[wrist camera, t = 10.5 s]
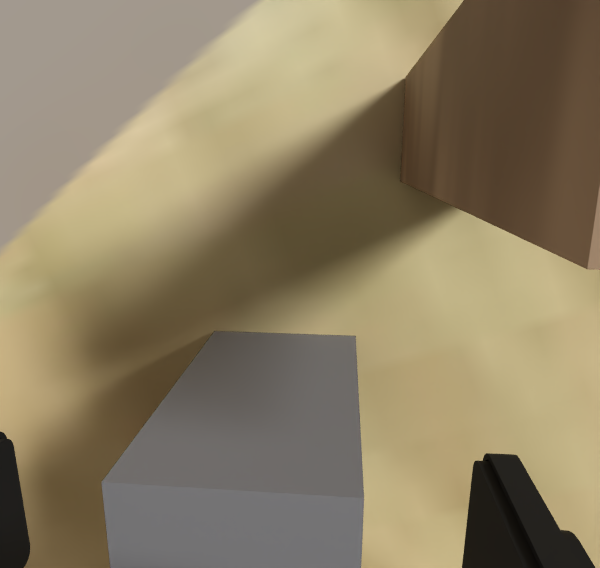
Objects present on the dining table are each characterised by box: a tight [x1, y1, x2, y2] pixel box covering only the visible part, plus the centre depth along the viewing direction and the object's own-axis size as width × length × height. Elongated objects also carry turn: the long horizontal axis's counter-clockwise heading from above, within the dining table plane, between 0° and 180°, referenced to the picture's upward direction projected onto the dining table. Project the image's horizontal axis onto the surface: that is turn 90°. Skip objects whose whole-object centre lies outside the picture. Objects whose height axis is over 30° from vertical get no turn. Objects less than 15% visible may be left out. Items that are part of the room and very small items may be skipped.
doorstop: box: [102, 331, 364, 568], centre depth 12 cm, size 5×4×7 cm
